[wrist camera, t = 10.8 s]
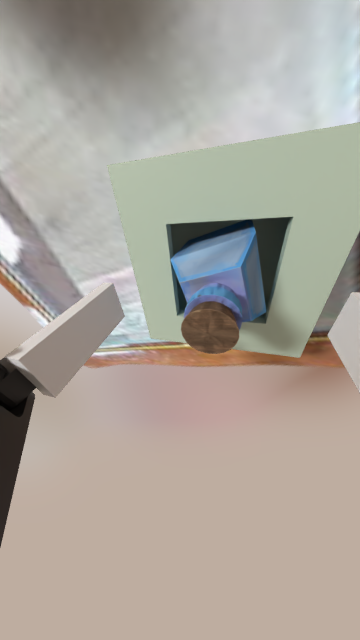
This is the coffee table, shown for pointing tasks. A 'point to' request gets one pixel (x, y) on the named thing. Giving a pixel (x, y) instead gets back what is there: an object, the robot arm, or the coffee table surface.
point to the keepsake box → (241, 204)
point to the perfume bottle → (220, 286)
